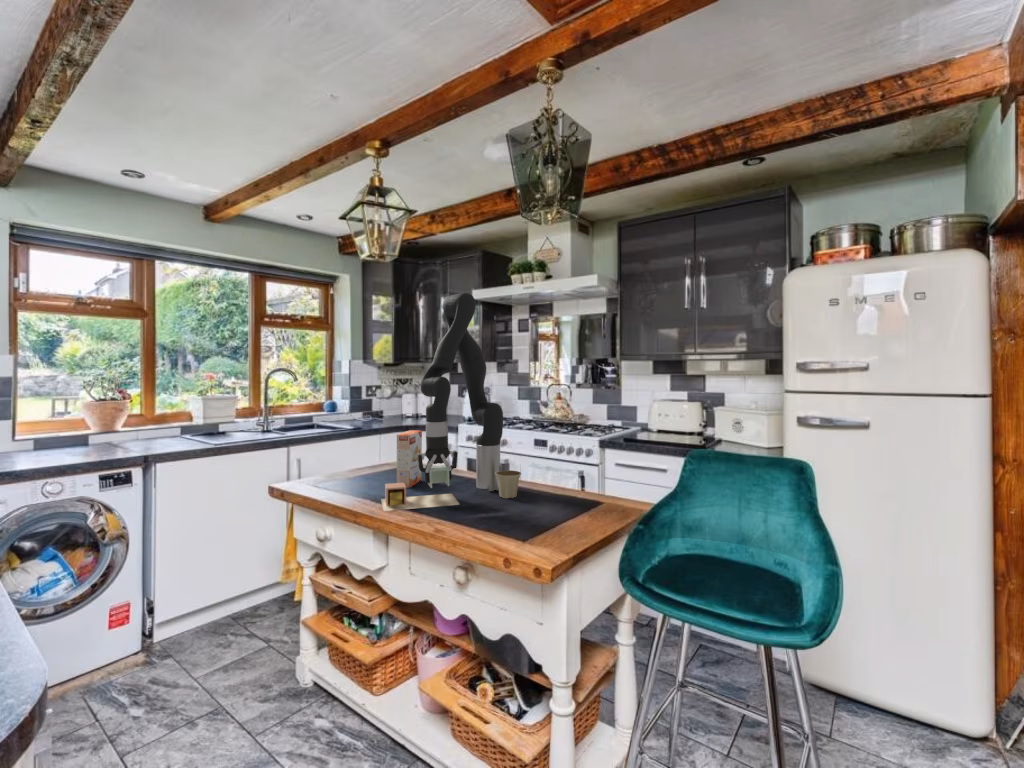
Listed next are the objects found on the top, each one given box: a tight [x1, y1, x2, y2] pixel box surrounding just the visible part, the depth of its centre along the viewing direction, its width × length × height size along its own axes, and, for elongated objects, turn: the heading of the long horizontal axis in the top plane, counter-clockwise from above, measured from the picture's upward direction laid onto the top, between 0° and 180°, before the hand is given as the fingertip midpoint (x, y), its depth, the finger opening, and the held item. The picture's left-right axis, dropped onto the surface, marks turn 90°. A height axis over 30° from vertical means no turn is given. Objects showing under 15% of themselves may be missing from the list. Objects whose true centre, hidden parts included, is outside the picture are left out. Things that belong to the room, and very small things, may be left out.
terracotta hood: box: [384, 482, 407, 506], centre depth 175 cm, size 6×6×6 cm
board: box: [380, 493, 460, 512], centre depth 177 cm, size 25×15×1 cm, turn 107°
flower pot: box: [495, 469, 522, 499], centre depth 187 cm, size 9×9×9 cm
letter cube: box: [389, 490, 402, 505], centre depth 175 cm, size 4×4×4 cm
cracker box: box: [396, 429, 423, 489], centre depth 205 cm, size 14×6×21 cm, turn 171°
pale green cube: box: [427, 464, 450, 489], centre depth 179 cm, size 6×6×6 cm
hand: (438, 481), depth 179 cm, fingers closed on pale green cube, 6 cm apart
